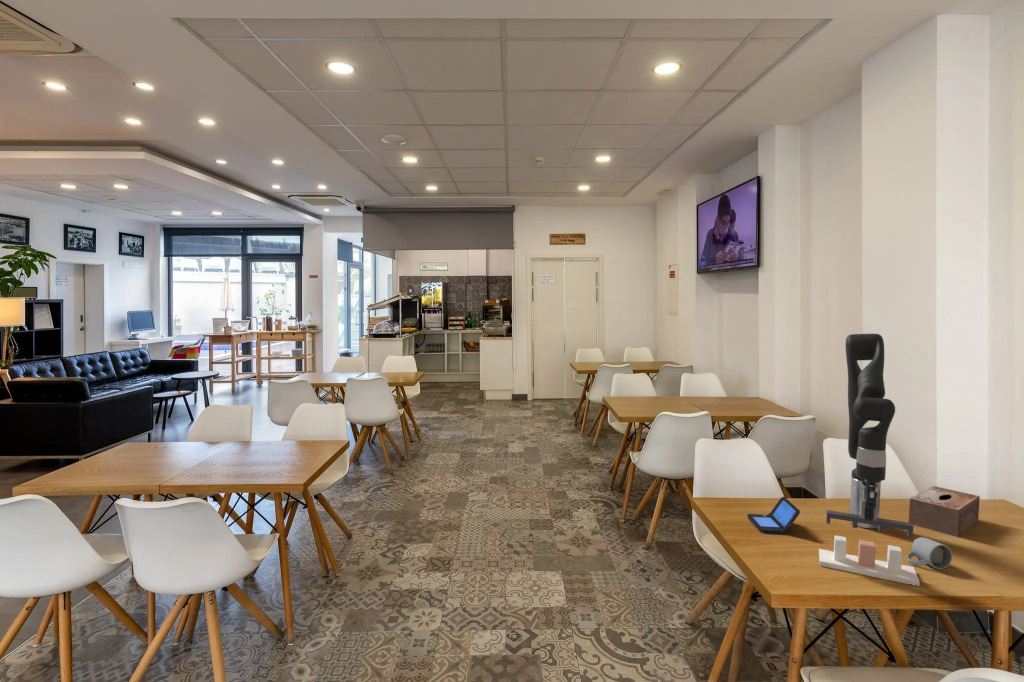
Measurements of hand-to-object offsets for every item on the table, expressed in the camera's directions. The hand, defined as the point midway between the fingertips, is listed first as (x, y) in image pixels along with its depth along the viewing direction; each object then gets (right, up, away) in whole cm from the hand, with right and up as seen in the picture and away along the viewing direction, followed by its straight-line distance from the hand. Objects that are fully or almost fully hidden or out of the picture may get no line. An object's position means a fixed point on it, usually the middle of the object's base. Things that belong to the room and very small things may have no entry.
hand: (868, 517), depth 163 cm
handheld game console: (-13, -15, +34) cm, 39 cm away
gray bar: (0, -4, 0) cm, 4 cm away
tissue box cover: (+55, -15, +39) cm, 69 cm away
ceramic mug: (+22, -17, +5) cm, 28 cm away
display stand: (0, -16, +1) cm, 16 cm away
